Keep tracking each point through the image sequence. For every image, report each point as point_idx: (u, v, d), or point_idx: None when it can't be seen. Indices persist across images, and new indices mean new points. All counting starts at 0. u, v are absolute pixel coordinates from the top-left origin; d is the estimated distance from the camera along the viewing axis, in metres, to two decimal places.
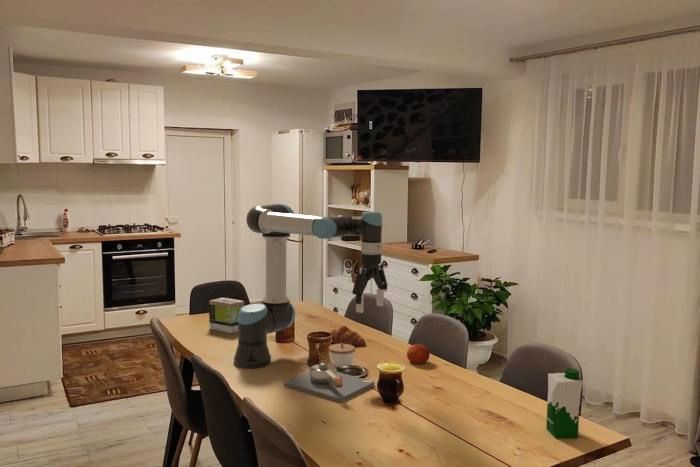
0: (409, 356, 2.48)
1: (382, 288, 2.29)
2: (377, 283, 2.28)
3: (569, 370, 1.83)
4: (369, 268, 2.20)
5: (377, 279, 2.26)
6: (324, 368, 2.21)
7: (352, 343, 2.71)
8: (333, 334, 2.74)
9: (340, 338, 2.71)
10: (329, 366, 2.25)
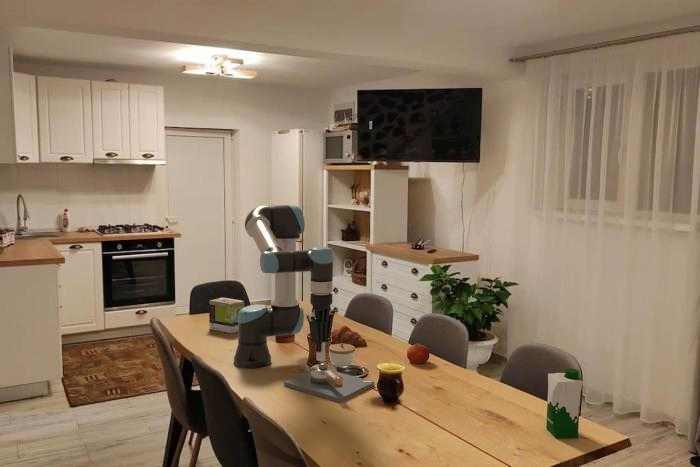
0: (409, 356, 2.48)
1: (324, 340, 2.05)
2: None
3: (569, 370, 1.83)
4: (318, 309, 2.01)
5: (323, 324, 2.05)
6: (324, 368, 2.21)
7: (353, 343, 2.71)
8: (334, 334, 2.74)
9: (341, 338, 2.71)
10: (329, 366, 2.25)
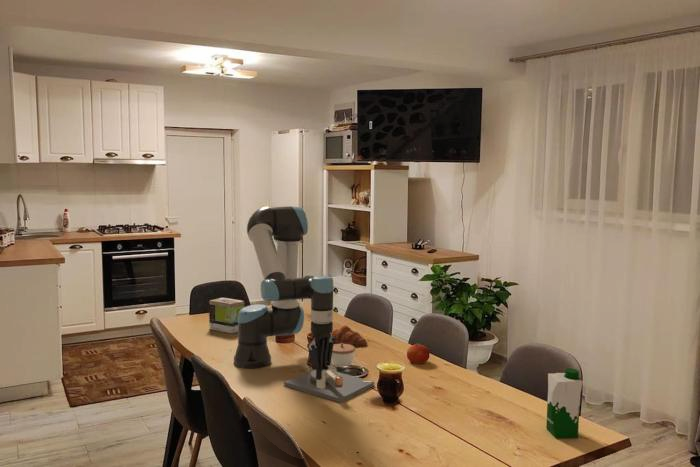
0: (409, 356, 2.48)
1: (324, 368, 2.07)
2: None
3: (569, 370, 1.83)
4: (318, 338, 2.02)
5: (323, 352, 2.06)
6: None
7: (353, 343, 2.71)
8: (334, 334, 2.74)
9: (341, 338, 2.71)
10: (329, 366, 2.25)
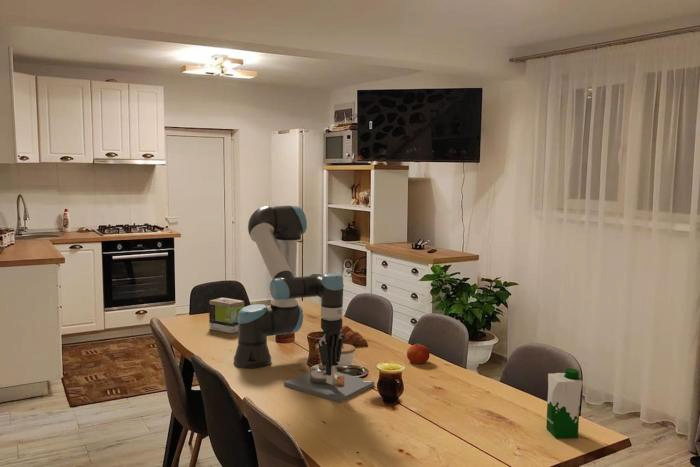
0: (409, 356, 2.48)
1: (333, 364, 2.11)
2: None
3: (569, 370, 1.83)
4: (328, 334, 2.07)
5: (333, 348, 2.11)
6: (324, 368, 2.21)
7: (354, 343, 2.71)
8: None
9: None
10: None
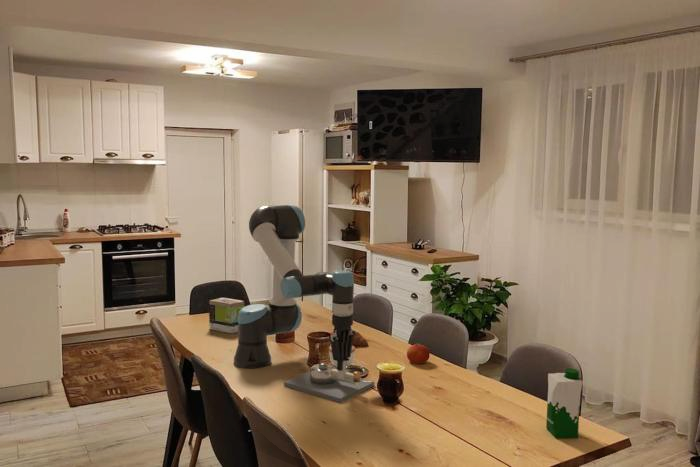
0: (409, 356, 2.48)
1: (344, 359, 2.16)
2: None
3: (569, 370, 1.83)
4: (339, 330, 2.11)
5: (344, 344, 2.15)
6: (326, 368, 2.21)
7: (354, 343, 2.71)
8: None
9: None
10: None
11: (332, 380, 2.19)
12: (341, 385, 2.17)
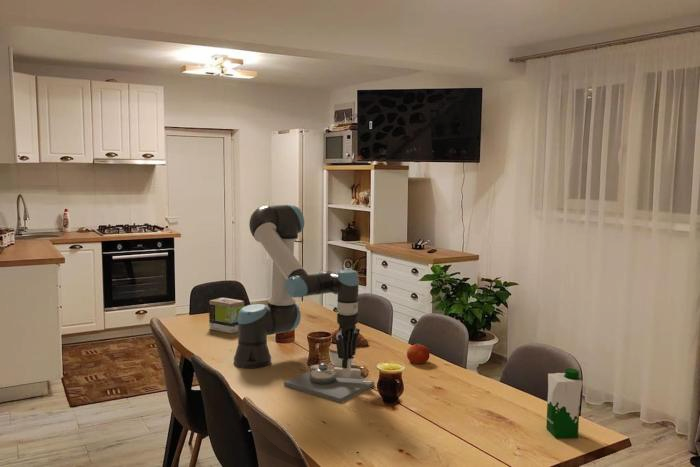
0: (409, 356, 2.48)
1: (349, 357, 2.19)
2: None
3: (569, 370, 1.83)
4: (344, 328, 2.14)
5: (349, 342, 2.18)
6: (327, 367, 2.22)
7: None
8: None
9: None
10: None
11: (335, 378, 2.21)
12: (341, 385, 2.17)
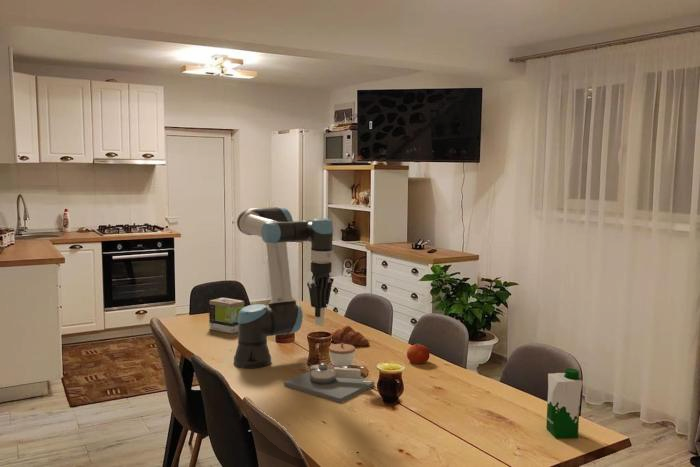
0: (409, 356, 2.48)
1: (322, 306, 2.18)
2: None
3: (569, 370, 1.83)
4: (318, 277, 2.13)
5: (322, 291, 2.17)
6: (327, 367, 2.22)
7: (355, 343, 2.71)
8: (336, 334, 2.74)
9: (343, 338, 2.71)
10: None
11: (335, 378, 2.21)
12: (341, 385, 2.17)
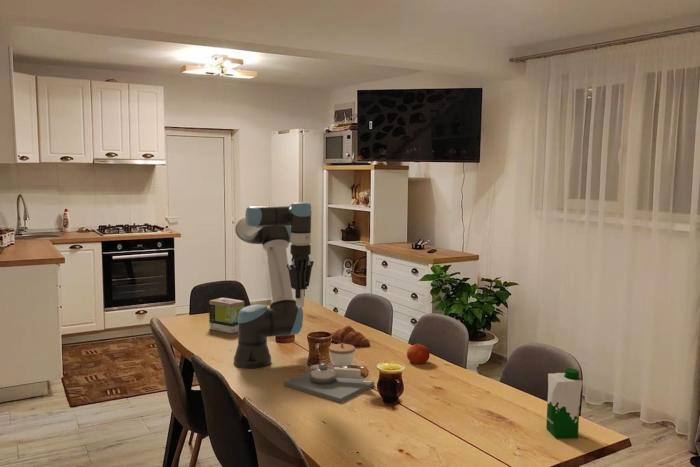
0: (409, 356, 2.48)
1: (303, 288, 2.24)
2: None
3: (569, 370, 1.83)
4: (297, 258, 2.19)
5: (302, 273, 2.23)
6: (327, 367, 2.22)
7: (356, 343, 2.71)
8: (337, 334, 2.74)
9: (344, 338, 2.71)
10: None
11: (335, 378, 2.21)
12: (341, 385, 2.17)
